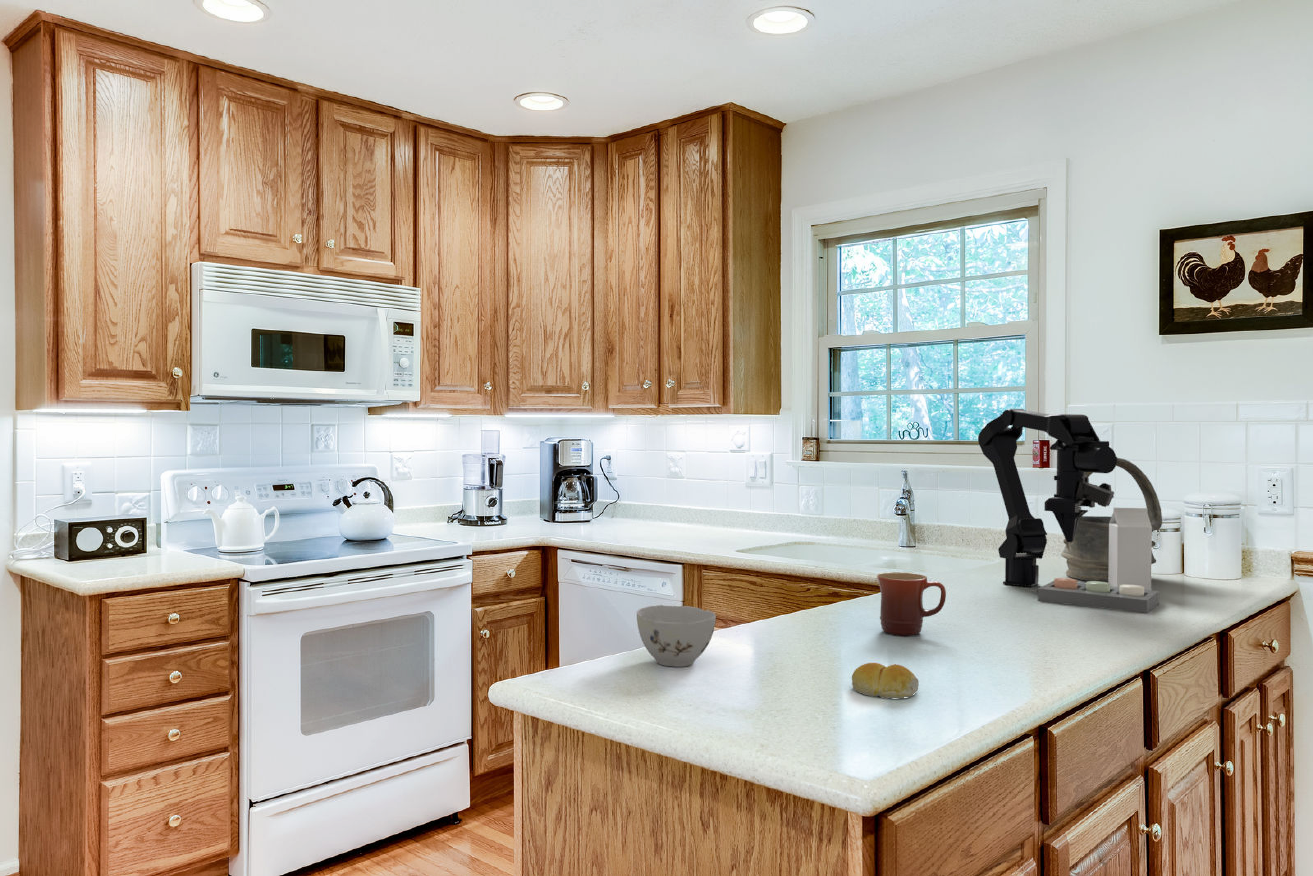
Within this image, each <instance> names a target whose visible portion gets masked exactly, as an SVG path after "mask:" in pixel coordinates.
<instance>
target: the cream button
mask: <svg viewBox="0 0 1313 876" xmlns="http://www.w3.org/2000/svg"><path fill="white" fill-rule="evenodd" d="M1119 594H1123V595H1132V596H1141V597H1144V587H1143V586H1138V585H1119Z"/></svg>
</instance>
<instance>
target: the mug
mask: <svg viewBox="0 0 1313 876" xmlns="http://www.w3.org/2000/svg"><path fill="white" fill-rule="evenodd" d="M876 577H877V581H878V585H879V589H880V614H879V615H880V617H879V620H880V625H881V629H882V631H883V632H885V634H887V635H888V634H889V635H891V634H892V635H893V636H897V635H898V636H899V637H912V636H911V635H913V636H917V635H918V634H920V633H921V632H922V629H923V623H924V618H927V617H928V618H929V617H932V616H935V615H936V614H938V613H940V611H942V609H943V608H944V606H945V603H946V599H947V598H946V597H947V589H946V587H945V585H944V584H942V582H939V581H936V580H935V581H933V580H928V577H927V576H926V575H923V574H919V573H913V572H900V571H899V572H898V571H897V572H895V571H894V572H890V571H889V572H881V573H877V575H876ZM931 587H938V589H940V598H939V602H938V604H937V606H936V607H934V608H931V609H925V608H924V604H923V601H924V600H923V597H924V596H923V594H924V591H925V590H927V589H928V588H931ZM916 634H917V635H916Z"/></svg>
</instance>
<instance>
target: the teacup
mask: <svg viewBox="0 0 1313 876" xmlns="http://www.w3.org/2000/svg"><path fill="white" fill-rule="evenodd" d="M716 615H717V614H716V613H715V612H714V611H712V610H709V609H706V610H703V609H702V608H700V607H695V606H690V605H689V606H688V605H679V606H678V605H662V604H658V605H650V606H646V607H642V608H638V610H637V611H636V623H637V629H638V633H639V636H640V639H641V641H642V643H643V645H644V648H646V650H647V652H648V653H649V654H650V655H651V656H652V658H654V660H655V661H656V663H657V664H659V665H661V666H665V667H675V668H685V667H689V666H692V665H694V664H695V661H696V660H697V659H699V657H700V656H702V654H703V653H704V652H705V650H706V649H707V647H708V646H709V644H710V642H711V639H712V637H713V634H714V632H715V631H714V630H715V627H716V620H717V619H716V618H717V616H716Z"/></svg>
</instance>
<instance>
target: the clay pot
mask: <svg viewBox="0 0 1313 876" xmlns="http://www.w3.org/2000/svg"><path fill="white" fill-rule="evenodd" d="M1116 467H1119V468H1120V469H1123V470H1124V471H1126V472H1127V473H1128V474H1129V475H1131V477H1132V478H1133V480H1134V481H1135V482H1136V484H1137V486H1138V488H1139V489H1140V491H1141V493H1142V495H1143V498H1144V502H1145V508H1147V514H1148V517H1149V520H1150V523H1151V526H1152V533H1154V531H1158V530H1160V528H1161V527H1162V525H1163V516H1162V514H1163V513H1162V508H1161V503H1160V500H1159V496H1158V495H1157V493H1156V490H1155V488H1154V486H1153V483H1152V482H1151V481H1150V479H1149V478H1148V476H1147V475H1146V474H1145V473H1144V472H1143V471H1142V470H1141V469H1140V468H1139V467H1138V466H1137V465H1136V464H1134V462H1133V463H1132V462H1131V461H1129V460H1127V459H1125V458H1120V457H1117V464H1116ZM1092 474H1093V473H1092V472H1085V476H1087V477H1088V478H1089V477H1090V476H1091V475H1092ZM1111 517H1112V516H1099V515H1096V516H1093V515H1090V516H1089V515H1083V516H1081V517H1080V519H1079V522H1078V526H1077V529H1076V533H1075V536H1074V540H1073V542H1067V541H1066V539H1065V538H1064V539H1063V544H1064V545H1065V547H1064V549H1063V551H1062V552H1061V554H1060V556H1061V557H1062V558H1063V559H1065V560H1066V566H1067V568H1068V569H1067V570H1066V571H1065V574H1066V576H1067V577H1069V578H1071V579H1075V580H1077V581H1078V580H1079V581H1084V582H1088V581H1099V582H1106V583H1108V571H1109V522H1110V520H1111ZM1155 545H1157V544H1156V542H1155V541H1154V540H1152V548H1153V547H1154V546H1155ZM1156 563H1157V559H1156V558H1155V557H1154V554H1153V552H1152V558H1151V565H1153V564H1156Z"/></svg>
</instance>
